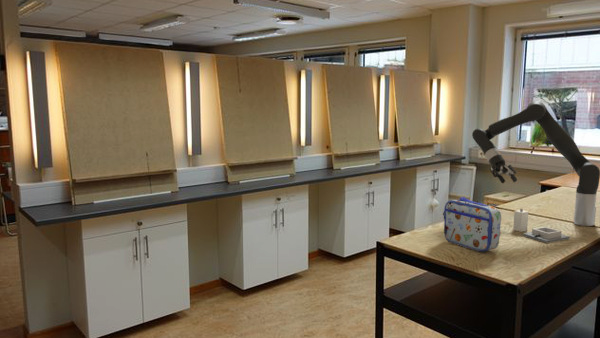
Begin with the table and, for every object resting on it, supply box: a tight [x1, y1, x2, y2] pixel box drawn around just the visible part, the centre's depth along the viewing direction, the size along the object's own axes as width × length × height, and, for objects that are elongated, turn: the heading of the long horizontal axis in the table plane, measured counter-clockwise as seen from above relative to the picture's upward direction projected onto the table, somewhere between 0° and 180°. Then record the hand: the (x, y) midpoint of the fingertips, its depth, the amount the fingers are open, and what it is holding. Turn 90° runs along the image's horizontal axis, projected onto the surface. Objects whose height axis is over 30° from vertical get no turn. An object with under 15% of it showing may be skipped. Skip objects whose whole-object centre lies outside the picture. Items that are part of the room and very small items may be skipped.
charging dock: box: [522, 226, 571, 244], centre depth 225 cm, size 16×13×4 cm
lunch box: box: [442, 196, 502, 252], centre depth 211 cm, size 28×10×22 cm, turn 32°
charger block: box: [512, 208, 529, 233], centre depth 237 cm, size 5×5×11 cm
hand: (509, 181), depth 248 cm, fingers open, 8 cm apart
